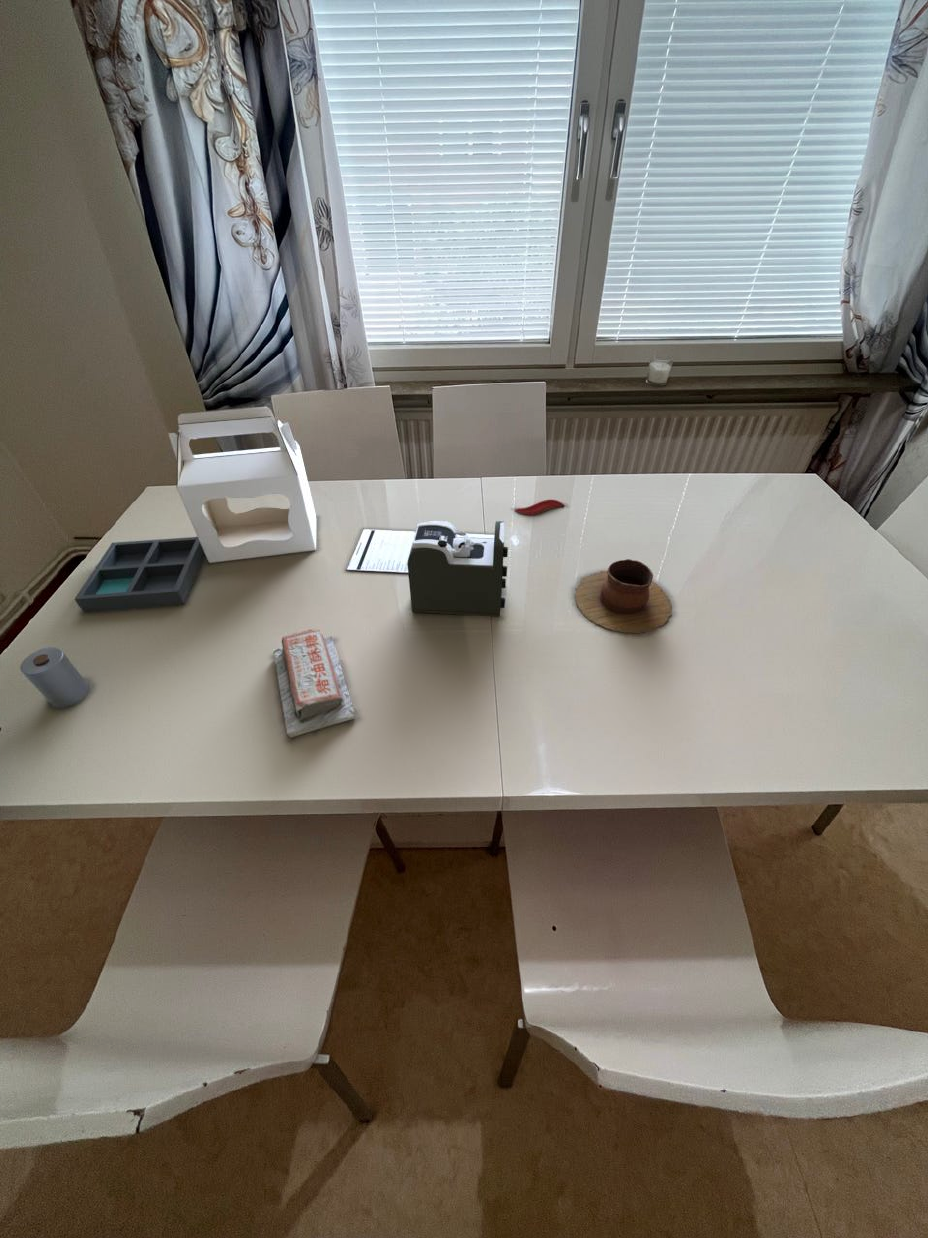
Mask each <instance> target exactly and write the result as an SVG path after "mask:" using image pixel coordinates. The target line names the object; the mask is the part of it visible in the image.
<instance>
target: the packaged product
mask: <svg viewBox="0 0 928 1238" xmlns="http://www.w3.org/2000/svg"><path fill="white" fill-rule="evenodd" d="M281 647H282V648H276V649H275V650H274V651H273V652H272V653H273V654H272V655H273V660H274V663H275V670H276V676H277V682H278V688H279V694H280V700H281V704H282V711H283V717H284V724H285V729H286V735H287V736H288V737H289V738H290V739H292V738H294V737H298V736H300V735H304V734H307V733H311V732H314V731H317V730H320V729H323V728H327V727H331V726H333V725H336V724H340V723H343V722H347V721H351V720H354V719H356V714H355V710H354V707H353V703H352V700H351V695H350V692H349V688H348V686H347V683H346V680H345V679H346V678H345V676H344V672H343V669H342V666H341V663H340V658H339V654H338V651H337V648H336V645H335V642H334V639H333V636H332V635H331V636H328V637H325V636H324V634H323V632H322V631H321V630H320V629H307V630H303V631H300V632H295V633H292V634H288V635H287V634H286V635H284V636H282V637H281Z"/></svg>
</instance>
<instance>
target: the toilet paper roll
mask: <svg viewBox="0 0 928 1238" xmlns="http://www.w3.org/2000/svg"><path fill="white" fill-rule="evenodd" d="M19 666H20V667H19V668H20V671H21V673H22V674H23V675H24V676H25V677H26V679H28V680H29V682H30V683H31V684H32V685H33V686H34V687H35V688H36V689H37V690H38V692H39V693H40V694H41V695H42V696H43V698H45V699H46V701H48V703H49V704H50V705H51V706H52V707H53V708H56V709H57V708H58V709H66V708H69V707H70V708H71V707H72V706H75V705H77V704H79V703H80V702H81V701H83V700H84V699H85V698H86V696H88V694H89V692H90V689H91V688H90V684H89V683H88V682H87V680H86V679H85V678H84V677H83V676H82V674H81V673H80V672H79V670H78V669H77V668H76V667H75V665H74V664H73V663H72V662H71V660H70V659H69V658H68V657H67V654H65V653H64V651H63V650H62V649H61V648H59V647H57V646H56V647H55V646H52V647H51V646H50V647H44V648H41V649H39V650H36V651H34V652H32V653H30V654H29V655H28V656H26V657H25V659H24V660H22V662H21V664H20V665H19Z"/></svg>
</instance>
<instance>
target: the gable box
mask: <svg viewBox="0 0 928 1238" xmlns="http://www.w3.org/2000/svg"><path fill="white" fill-rule="evenodd" d="M177 426H178V431H177V432H174V431H169V432H168V433H167V434H168V437H169V441H170V443H171V448H172V451H173V454H174V456H175V459H176V485H175V487H176V490H177V492H178V494H179V497H180V499H181V501H182V504H183V507H184V509H185V511H186V513H187V516H188V518H189V520H190V522H191V525H192V527H193V530H194V531H195V534H196V537H198V539H199V541H200V543H201V546H202V548H203V550H204V553H205V557H206V560H207V562H208V563H210V564H213V563H220V562H222V563H223V562H230V561H238V560H245V559H254V558H261V557H268V556H269V557H270V556H279V555H287V554H295V553H303V552H304V553H305V552H312V551H316V550H317V515H316V509H315V505H314V501H313V497H312V493H311V489H310V485H309V481H308V476H307V472H306V468H305V464H304V460H303V455H302V450H301V446H300V445H299V443H298V442H297V441H296V440H295V437H294V433H293V430H292V429H291V425H290V422H289V421H284V422H283V423H282V421H280V420H279V419H278V420H277V418H276V416H275V415H274V412H273V410H272V409H271V408H270V407H269V406H257V407H256V406H254V407H246V408H245V407H243V408H241V407H240V408H231V409H230V408H229V409H217V410H205V411H192V412H181V413H179V414H178V415H177ZM262 433H265V434H269V433H272V434H274V435H275V437H276V438H277V441H278V446H275V447H266V448H264V447H263V448H255V449H244V450H232V451H222V452H212V453H211V452H210V453H209V452H208V453H201V454H200V453H199V454H194V453H193V450H192V448H191V445H190V441H191V440H198V439H207V438H208V439H209V438H216V437H217V438H219V437H228V436H230V437H231V436H240V435H253V434H262ZM268 495H269V496H270V495H281V496H284V497H286V498H287V499H288V500H289V507H288V508H282V507H276V506H263V507H257V508H253V509H251V510H248V511H244V512H233V511H232V510H231V509H230V508H229V504H228V500H227V499H254V498H260V497H263V496H268Z"/></svg>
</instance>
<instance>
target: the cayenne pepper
mask: <svg viewBox="0 0 928 1238" xmlns="http://www.w3.org/2000/svg"><path fill="white" fill-rule="evenodd" d="M559 507H565V504H564V503H562V502H561V501H559V500H557V499H544V500H541V501H539V502H537V503H534V504H532V505H530V506H527V507H521V508H520V507H519V508H514V511H515V512H517V513H520V514H524V515H533V516H534V515H538V514H540V513H542V512H544V511H547V510H551V509H554V508H559Z"/></svg>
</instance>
